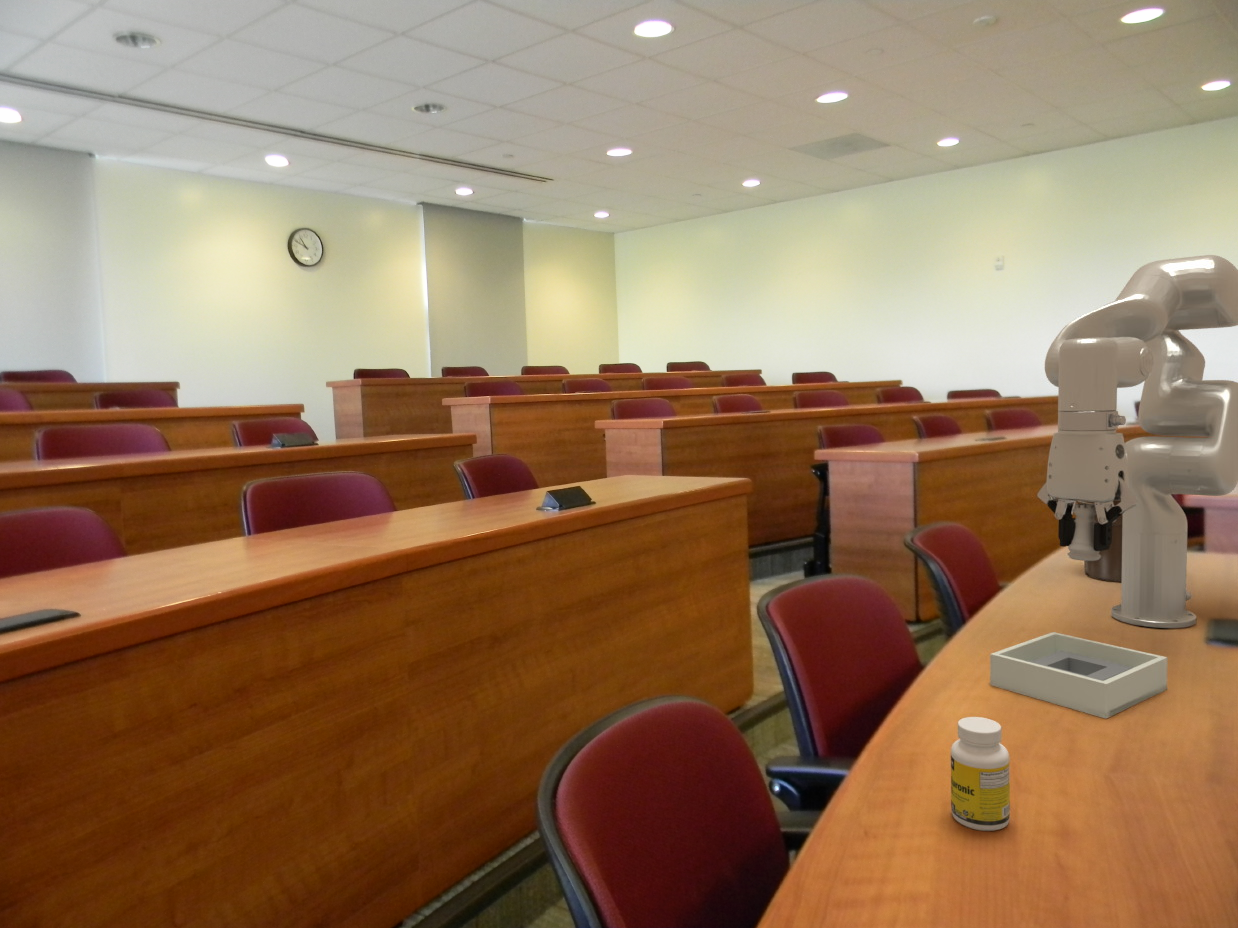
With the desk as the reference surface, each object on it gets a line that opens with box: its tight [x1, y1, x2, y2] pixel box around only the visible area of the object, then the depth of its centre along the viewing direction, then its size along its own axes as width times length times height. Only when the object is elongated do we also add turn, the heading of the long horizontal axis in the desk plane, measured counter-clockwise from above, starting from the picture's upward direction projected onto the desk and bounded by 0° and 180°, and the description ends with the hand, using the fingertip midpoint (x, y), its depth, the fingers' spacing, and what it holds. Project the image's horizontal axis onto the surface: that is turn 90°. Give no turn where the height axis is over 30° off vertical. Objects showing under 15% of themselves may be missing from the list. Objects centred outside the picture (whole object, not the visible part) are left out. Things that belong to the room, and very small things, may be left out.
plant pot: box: [1076, 500, 1123, 583], centre depth 181 cm, size 16×16×16 cm
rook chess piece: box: [1067, 503, 1101, 562], centre depth 128 cm, size 4×4×8 cm
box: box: [989, 631, 1168, 719], centre depth 121 cm, size 16×16×4 cm
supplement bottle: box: [950, 716, 1011, 832], centre depth 87 cm, size 5×5×10 cm
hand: (1084, 546), depth 128 cm, fingers closed on rook chess piece, 4 cm apart
